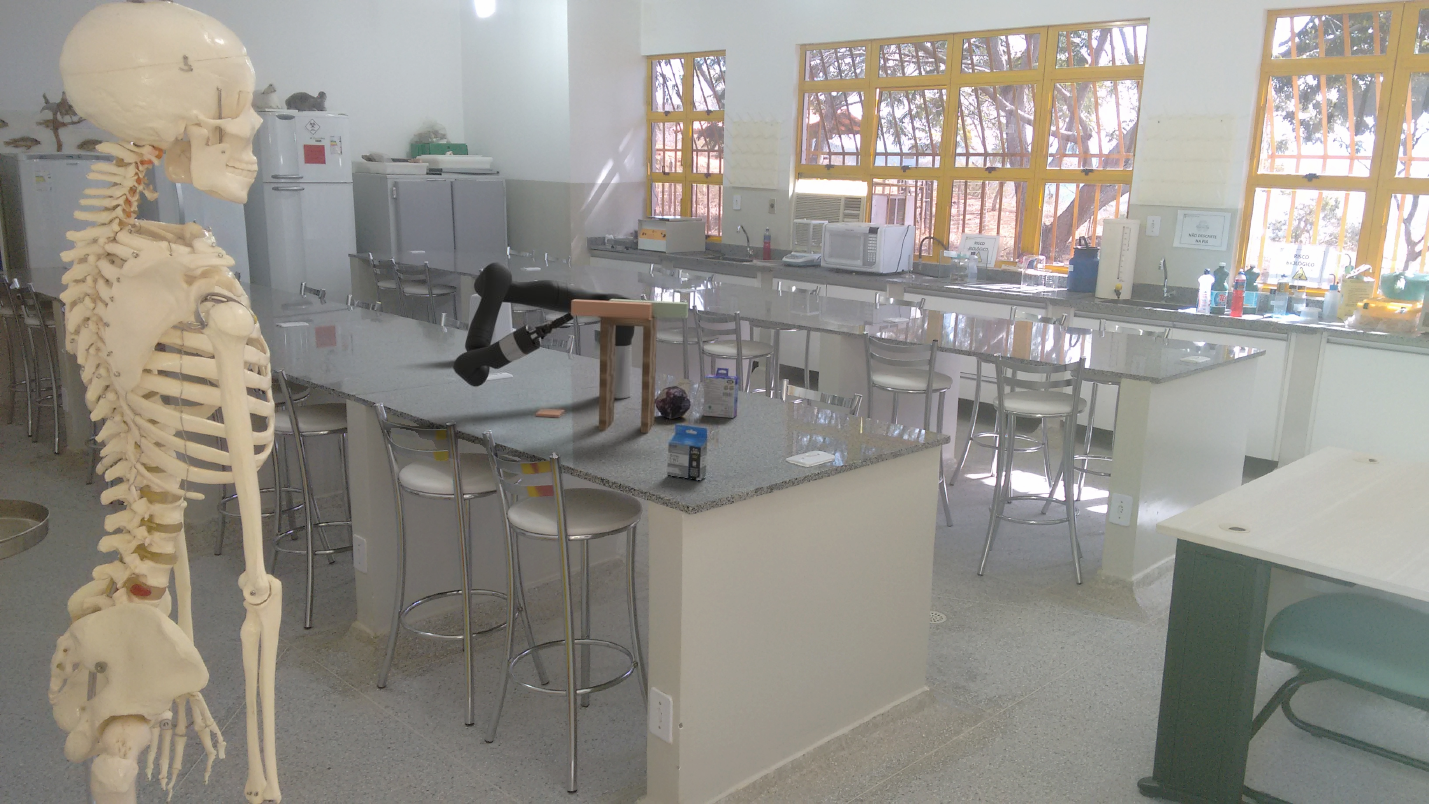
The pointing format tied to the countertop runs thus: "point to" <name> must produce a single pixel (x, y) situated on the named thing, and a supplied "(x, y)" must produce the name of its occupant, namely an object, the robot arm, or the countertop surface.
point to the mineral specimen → (672, 402)
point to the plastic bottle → (503, 319)
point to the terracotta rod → (611, 309)
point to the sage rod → (664, 308)
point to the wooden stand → (609, 369)
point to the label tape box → (687, 452)
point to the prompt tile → (549, 413)
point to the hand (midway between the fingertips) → (568, 317)
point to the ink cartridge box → (720, 395)
